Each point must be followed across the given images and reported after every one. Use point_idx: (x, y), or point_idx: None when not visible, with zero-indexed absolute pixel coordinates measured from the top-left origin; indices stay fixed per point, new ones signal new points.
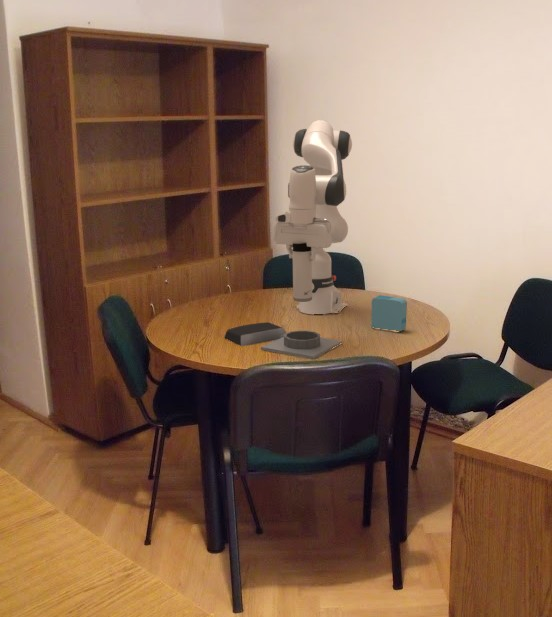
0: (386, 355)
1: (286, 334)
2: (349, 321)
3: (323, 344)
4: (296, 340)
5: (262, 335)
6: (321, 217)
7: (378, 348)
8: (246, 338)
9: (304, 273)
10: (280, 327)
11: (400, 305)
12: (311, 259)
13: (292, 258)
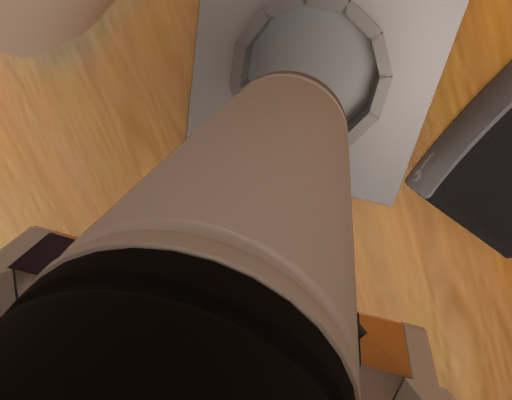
0: (13, 73)
1: (380, 72)
2: None
3: (230, 95)
4: None
5: (507, 90)
6: None
7: (67, 140)
8: None
9: (195, 133)
10: (442, 195)
11: None
12: (50, 234)
13: (368, 315)
